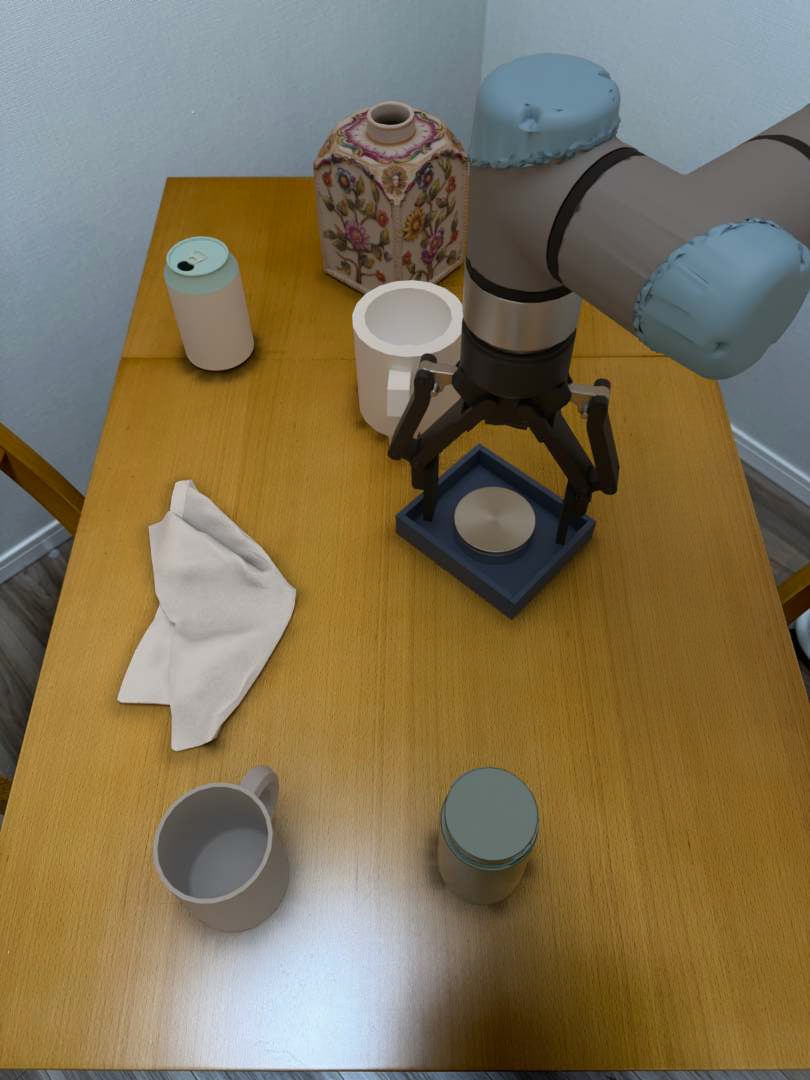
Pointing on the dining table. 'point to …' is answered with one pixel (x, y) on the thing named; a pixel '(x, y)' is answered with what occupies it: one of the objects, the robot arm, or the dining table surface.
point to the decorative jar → (391, 197)
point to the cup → (225, 851)
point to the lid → (494, 525)
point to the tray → (495, 582)
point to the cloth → (205, 618)
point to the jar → (486, 834)
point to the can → (209, 303)
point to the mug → (403, 349)
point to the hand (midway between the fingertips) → (495, 520)
